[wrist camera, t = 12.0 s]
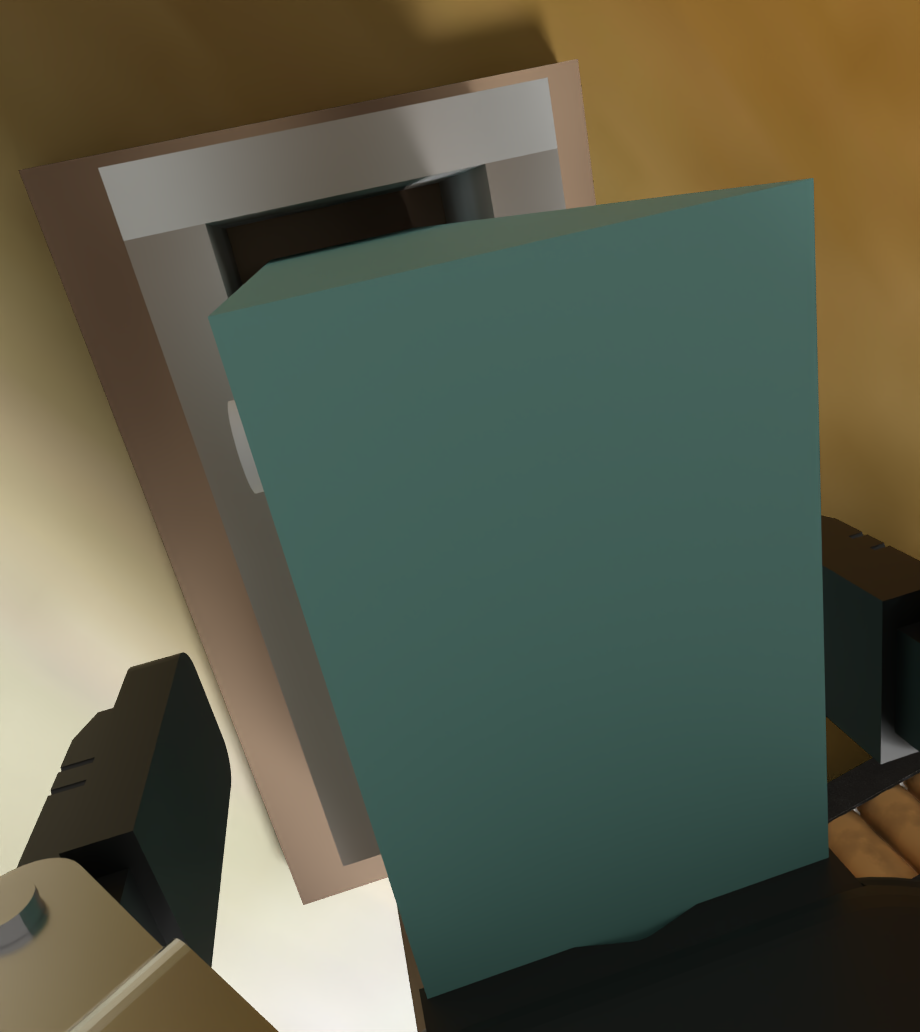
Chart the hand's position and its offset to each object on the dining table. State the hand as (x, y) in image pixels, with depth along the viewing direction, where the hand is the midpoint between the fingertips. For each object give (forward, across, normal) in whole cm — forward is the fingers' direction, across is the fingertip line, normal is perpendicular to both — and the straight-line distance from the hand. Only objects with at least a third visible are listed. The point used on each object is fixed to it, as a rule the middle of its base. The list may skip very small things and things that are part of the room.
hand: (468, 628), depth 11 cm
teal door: (+7, 0, 0) cm, 7 cm away
